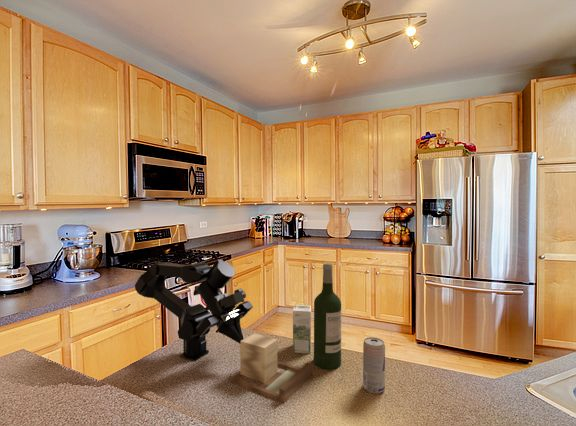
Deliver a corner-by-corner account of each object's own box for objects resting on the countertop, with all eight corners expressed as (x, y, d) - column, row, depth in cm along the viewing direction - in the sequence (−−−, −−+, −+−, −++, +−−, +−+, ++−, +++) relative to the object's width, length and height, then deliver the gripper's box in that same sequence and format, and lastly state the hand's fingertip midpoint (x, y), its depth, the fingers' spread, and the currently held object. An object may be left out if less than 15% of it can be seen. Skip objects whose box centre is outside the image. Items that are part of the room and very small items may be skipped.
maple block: (240, 374, 81) (240, 341, 81) (253, 364, 86) (254, 333, 86) (264, 383, 77) (264, 348, 77) (277, 372, 82) (277, 339, 82)
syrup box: (311, 348, 99) (311, 304, 99) (310, 357, 93) (310, 310, 93) (293, 347, 99) (294, 304, 99) (292, 356, 93) (292, 310, 93)
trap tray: (227, 384, 78) (227, 369, 78) (259, 361, 90) (259, 348, 90) (284, 407, 69) (284, 390, 69) (311, 378, 81) (311, 364, 81)
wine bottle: (335, 376, 82) (335, 267, 82) (309, 369, 86) (309, 264, 86) (344, 364, 89) (345, 263, 89) (320, 357, 93) (320, 260, 92)
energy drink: (385, 384, 78) (385, 338, 78) (384, 396, 73) (384, 347, 73) (364, 380, 80) (364, 335, 80) (362, 391, 75) (362, 344, 75)
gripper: (203, 288, 79) (235, 339, 73) (248, 275, 95) (277, 316, 89) (183, 312, 83) (212, 362, 77) (229, 296, 99) (256, 337, 93)
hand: (242, 342), depth 84 cm, fingers closed
